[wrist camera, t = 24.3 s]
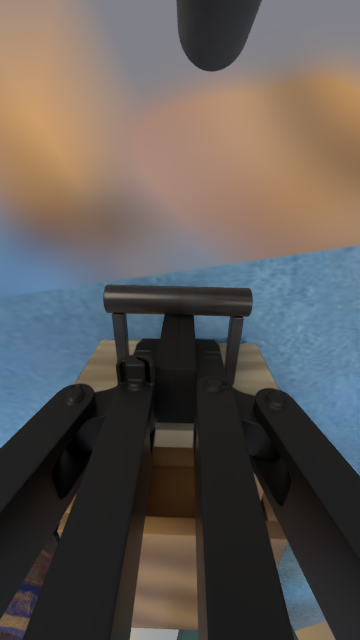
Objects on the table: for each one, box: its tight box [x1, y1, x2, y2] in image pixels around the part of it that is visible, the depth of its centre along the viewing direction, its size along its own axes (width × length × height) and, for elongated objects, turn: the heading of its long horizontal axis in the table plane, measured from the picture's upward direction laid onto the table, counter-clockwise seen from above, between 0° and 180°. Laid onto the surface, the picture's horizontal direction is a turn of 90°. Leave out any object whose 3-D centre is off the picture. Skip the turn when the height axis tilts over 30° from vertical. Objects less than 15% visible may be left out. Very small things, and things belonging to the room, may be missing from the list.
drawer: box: [75, 285, 279, 518], centre depth 17 cm, size 19×12×8 cm, turn 179°
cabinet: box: [57, 492, 288, 630], centre depth 21 cm, size 15×13×10 cm
